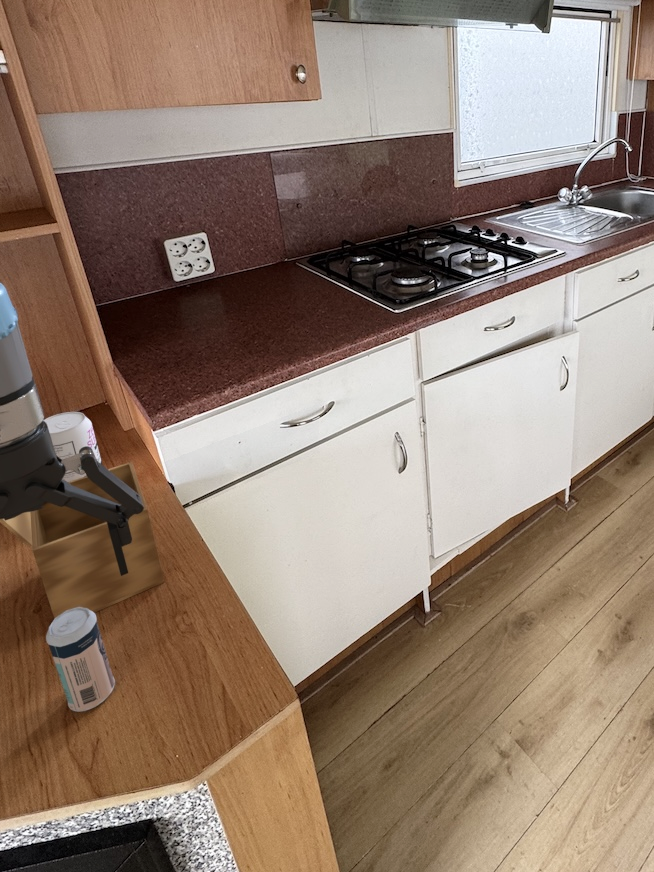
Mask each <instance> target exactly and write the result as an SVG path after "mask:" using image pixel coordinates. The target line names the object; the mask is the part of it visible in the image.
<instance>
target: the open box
mask: <svg viewBox="0 0 654 872" xmlns="http://www.w3.org/2000/svg"><path fill="white" fill-rule="evenodd" d="M107 469H108V470H109V471H110V472H112V473H113V474H114V475H115V476H116V477H118V478H119V479H120V480H121V481H123V482H124V483H125V484H126V485H128V486H129V487H130V488H131V489H133V490H134V491H135V492H136V493H137V494H139V495H140V497H141V500H142V503H143V506H144V510H143V511H142V512H141V513H139V514H134V515H133V516H131V517H130V518H129V520H128V524H129V528H130V532H131V536H132V542H131V543H130V544H128V545H125V546H123V547H122V549H123V553H124V557H125V561H126V565H127V569H128V573H127V574H125V575H123V576H121V574H120V571H119V567H118V563H117V559H116V556H115V552H114V548H113V545H112V541H111V537H110V533H109V529H108V525H107V521H104V520H101V519H99V518H96V517H93V516H90V515H88V514H85V513H82V512H80V511H77V510H74V509H71V508H69V507H66V506H63V507H59V506H57V505H54V504H51V503H46V504H45V505H43V508H42V509H39V510H36V511H31V512H30V514H31V531H32V546H31V547H32V548H31V549H32V554H33V557H34V560H35V563H36V566H37V569H38V573H39V575H40V579H41V582H42V585H43V587H44V588H43V589H44V591H45V593H46V597H47V600H48V603H49V606H50V609H51V612H52V615H53V620H54V619H55V618H56V617H58V616H59V615H61V614H62V613H64V612H65V611H67V610H70V609H74V608H77V607H82V608H88V610H91V611H93V612H94V613H95V614H96V613H97V612H100V611H102V610H104V609H106V608H108V607H112V606H113V605H116V604H118V603H120V602H123V601H125V600H127V599H129V598H131V597H134V596H137V595H139V594H141V593H143V592H145V591H147V590H150V589H152V588H154V587H157V586H159V585H161V584H164V583H165V579H164V573H163V570H162V565H161V561H160V556H159V552H158V547H157V544H156V543H157V542H156V539H155V535H154V530H153V526H152V522H151V517H150V513H149V509H148V506H147V502H146V499H145V497H144V494H143V491H142V488H141V485H140V482H139V479H138V476H137V473H136V470H135V466H134V463H133V461H129V462H127V463H124V464H120V465H116V466H114V467H111V468H107ZM69 483H70V484H71V485H72V486H74V487H77V488H80V489H82V490H85V491H87V492H90V493H92V494H95V495H97V496H100V497H102V498H105V499H107V500H110V501H113V502H115V503H118V504H120V503H119V502H118V501H116V500H115V499H114V498H113V497H111V496H110V495H109V494H107V493H106V492H105V491H104V490H102V489H101V488H100V487H98V486H97V485H96V484H95V483H93V482H92V481H91V480H90V479H89V478H88V477H87V476H85V477H82V478H79V479H76V480H72V481H69ZM120 505H122V504H120Z"/></svg>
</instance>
